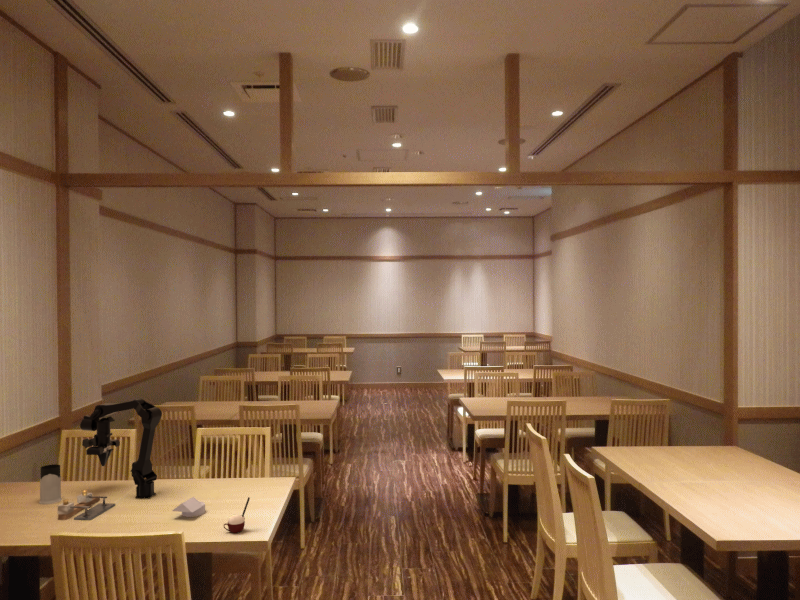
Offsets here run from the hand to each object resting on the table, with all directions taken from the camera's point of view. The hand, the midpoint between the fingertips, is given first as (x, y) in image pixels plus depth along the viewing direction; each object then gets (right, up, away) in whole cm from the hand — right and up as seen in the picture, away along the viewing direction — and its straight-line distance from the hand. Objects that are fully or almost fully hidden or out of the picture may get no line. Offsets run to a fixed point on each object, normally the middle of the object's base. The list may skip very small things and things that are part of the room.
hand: (103, 466), depth 277 cm
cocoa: (+74, -11, -49) cm, 89 cm away
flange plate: (+10, -12, -26) cm, 30 cm away
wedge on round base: (+50, -12, -30) cm, 59 cm away
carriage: (+5, -11, -20) cm, 23 cm away
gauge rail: (+5, -12, -23) cm, 26 cm away
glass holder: (-19, -13, -9) cm, 24 cm away
